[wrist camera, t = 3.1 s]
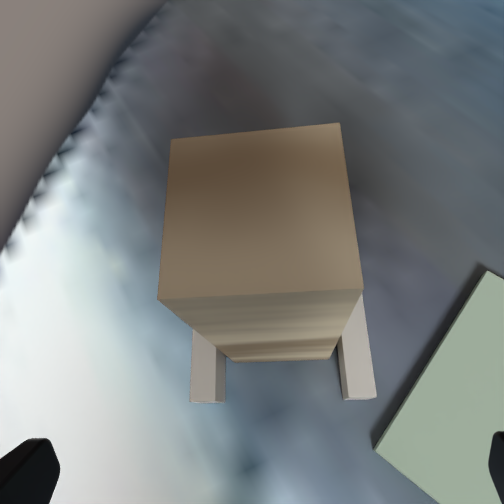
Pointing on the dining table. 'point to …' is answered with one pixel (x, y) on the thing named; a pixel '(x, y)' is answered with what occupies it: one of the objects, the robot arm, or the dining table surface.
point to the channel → (349, 353)
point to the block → (261, 242)
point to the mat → (455, 406)
